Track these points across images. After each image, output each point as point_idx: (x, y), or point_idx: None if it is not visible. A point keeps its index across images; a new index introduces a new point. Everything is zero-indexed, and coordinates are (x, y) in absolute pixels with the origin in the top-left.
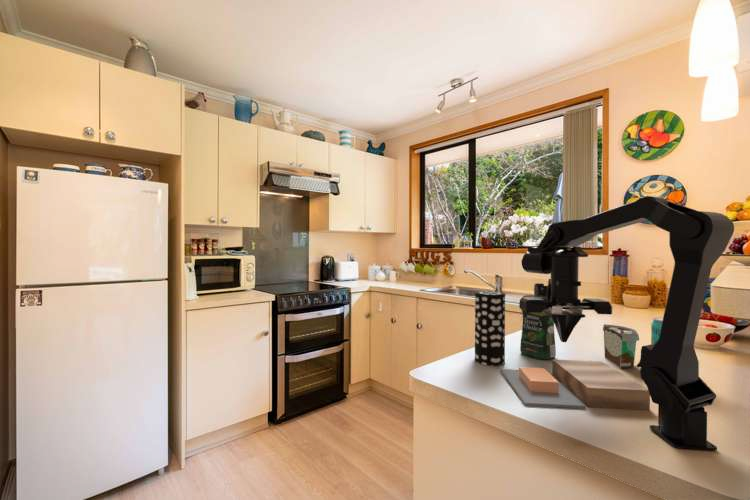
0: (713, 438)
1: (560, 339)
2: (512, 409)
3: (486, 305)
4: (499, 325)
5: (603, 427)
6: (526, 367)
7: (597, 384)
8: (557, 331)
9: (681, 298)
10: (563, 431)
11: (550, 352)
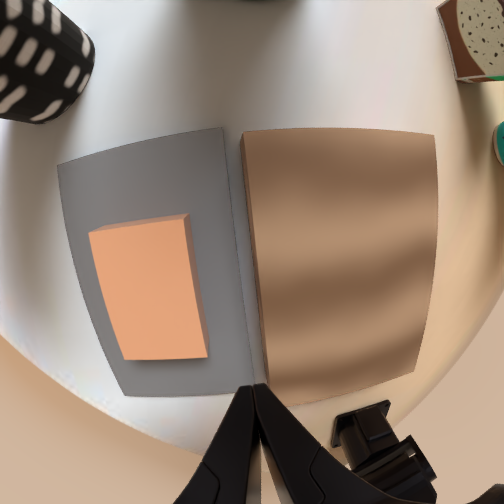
0: (403, 402)
1: (236, 396)
2: (107, 403)
3: None
4: None
5: None
6: (113, 230)
7: (311, 383)
8: (217, 433)
9: None
10: (188, 447)
11: None
